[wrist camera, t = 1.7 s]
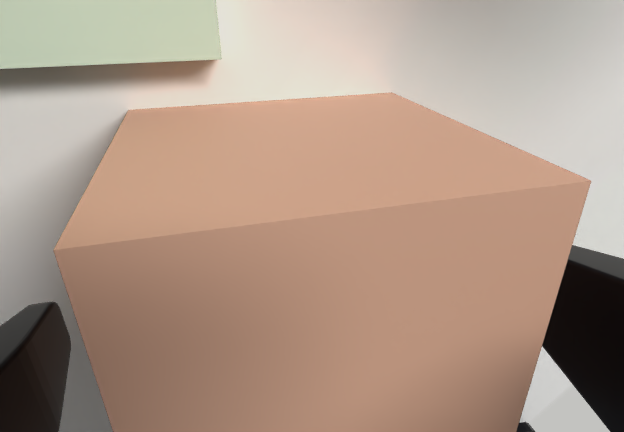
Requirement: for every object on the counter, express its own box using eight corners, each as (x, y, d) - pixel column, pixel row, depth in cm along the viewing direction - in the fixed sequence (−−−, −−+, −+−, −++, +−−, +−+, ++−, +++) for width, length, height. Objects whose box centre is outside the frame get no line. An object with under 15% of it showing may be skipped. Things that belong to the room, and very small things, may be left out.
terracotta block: (376, 292, 13) (500, 482, 8) (173, 328, 12) (163, 582, 7) (390, 91, 10) (591, 180, 5) (129, 108, 9) (52, 249, 4)
